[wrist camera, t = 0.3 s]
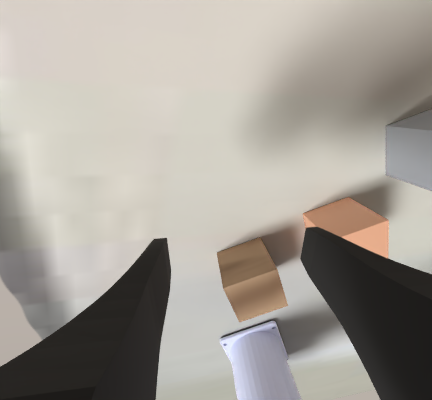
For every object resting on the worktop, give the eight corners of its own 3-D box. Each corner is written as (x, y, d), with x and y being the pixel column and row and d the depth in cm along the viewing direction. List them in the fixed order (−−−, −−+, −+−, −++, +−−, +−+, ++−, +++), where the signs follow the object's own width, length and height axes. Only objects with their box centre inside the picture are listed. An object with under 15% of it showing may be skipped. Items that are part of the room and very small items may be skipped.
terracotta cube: (350, 233, 24) (388, 263, 20) (309, 248, 24) (336, 281, 20) (347, 196, 22) (388, 220, 18) (302, 213, 22) (331, 240, 18)
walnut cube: (270, 269, 25) (287, 305, 20) (230, 283, 25) (239, 322, 21) (259, 236, 23) (277, 269, 18) (216, 252, 23) (223, 288, 19)
